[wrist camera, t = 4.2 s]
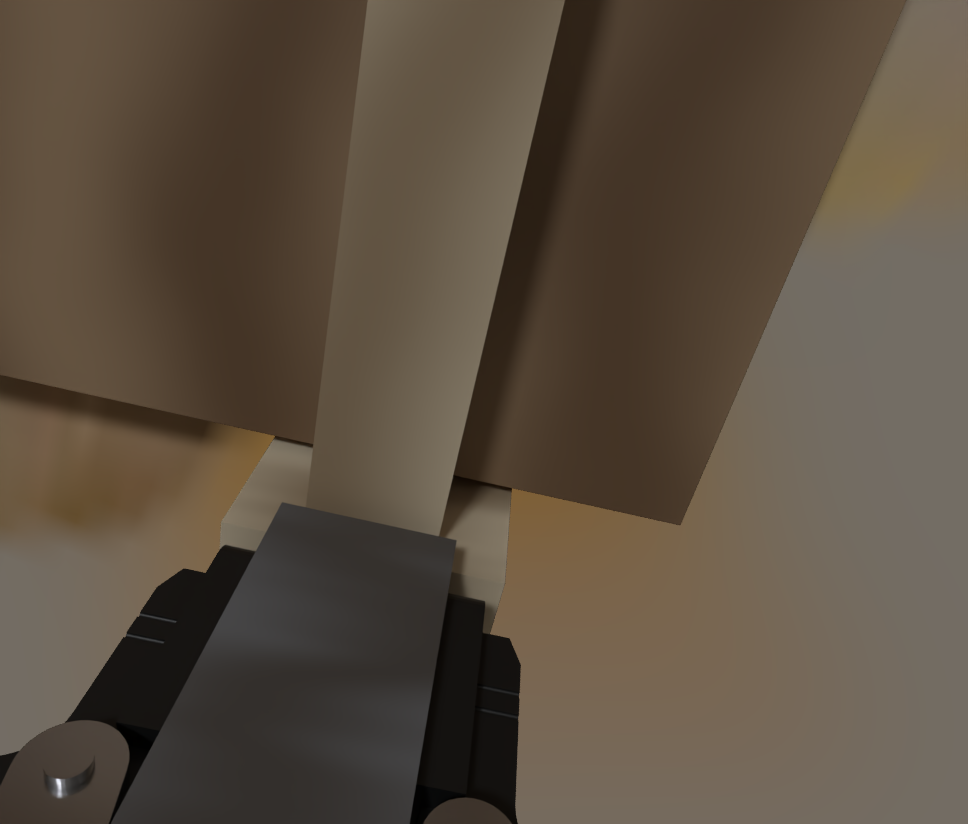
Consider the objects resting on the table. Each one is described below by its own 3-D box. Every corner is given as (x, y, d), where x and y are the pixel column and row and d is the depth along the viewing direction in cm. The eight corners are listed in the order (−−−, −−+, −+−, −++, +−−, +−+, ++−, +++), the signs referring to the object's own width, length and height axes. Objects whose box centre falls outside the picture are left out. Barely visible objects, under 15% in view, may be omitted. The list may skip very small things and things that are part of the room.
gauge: (678, -131, 11) (1136, -600, 3) (491, 541, 18) (437, 1069, 9) (355, -214, 11) (-351, -1029, 2) (281, 495, 17) (16, 989, 9)
